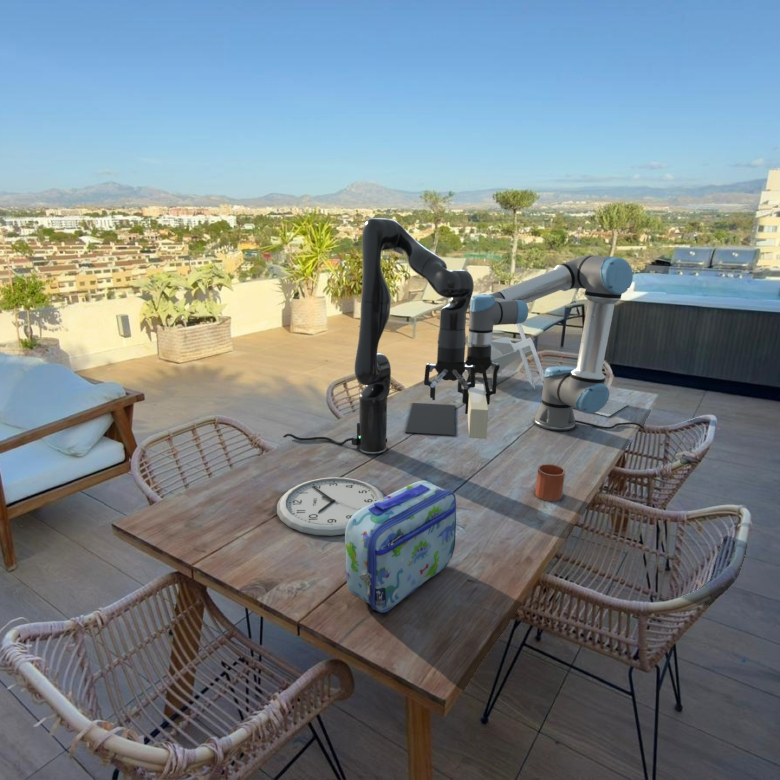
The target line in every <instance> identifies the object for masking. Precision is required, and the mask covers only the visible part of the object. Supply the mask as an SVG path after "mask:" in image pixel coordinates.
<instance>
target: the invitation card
mask: <svg viewBox="0 0 780 780" xmlns="http://www.w3.org/2000/svg"><path fill="white" fill-rule="evenodd" d="M627 406H628V404H627V403H623V402H618V401H614V400H609V399H608V401H607V403H606V404H605V406H604V407H603V408H601V409H600V410H599V411H598V412H596V413H594V415H595V414H596V415H600V416H603V417H608V418H609V417H611V416H612V415H614V414H616V413H617V412H619V411H620V410H622V409H624V408H625V407H627Z"/></svg>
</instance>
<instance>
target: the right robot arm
mask: <svg viewBox="0 0 780 780" xmlns="http://www.w3.org/2000/svg"><path fill="white" fill-rule="evenodd" d="M633 277H634V274H633V269H632V266H631V265H630V263H629V261H627V260H626V259H624V258H621V257H617V256H606V255H605V256H604V255H595V254H594V255H593V254H588V255H583V256H579V257H576V258H573V259H571V260H568V261H564V262H563V263H560V264H557V265H556V266H555V267H554V269H552V270H549V271H547V272H544V273H541V274H539V275H537V276H534V277H531V278H529V279H527V280H524V281H521V282H518V283H516V284H514V285H511V286H508V287H505V288H503V289H500V290H497V291H495V292H492V293H489V294H487V293H483V294H481V293H480V294H474V295H472V297H471V300H470V303H469V308H468V310H469V317H468V334H467V336H468V337H467V343H468V344H467V351H466V358H465V359H464V365H467V366H471V365H474V366H475V373H482V374H483V375H482V378H483V384H484V389H485V394H486V400H487V405H488V406H489V405H490V402H491V396H492V395H496V394H497V383H498V374H497V372H498V370H499V367H500V366H499V364H498V363H493V362H492V360H491V345H490V344H492V340H493V333H494V332H493V331H494V326H501V325H502V326H504V325H517V324H519V323H521V324H523V323H525V322H526V321H527V319H528V318H529V306H528V304H529V303H531V302H533V301H536V300H538V299H541V298H544V297H547V296H549V295H552V294H555V293H557V292H560V291H562V292H567V291H570V290H573V289H583V290H585V291H584V297H585V298H586V299H587V306H586V311H585V317H584V322H583V327H582V328H583V329H582V335H581V340H580V345H579V351H578V357H577V362H576V367H574V366H566V365H565V366H564V365H562V366H561V365H559V366H558V365H557V366H549V367H547V368H546V369H545V370H544V380H543V382H542V392H541V402H540V405H539V407H538V410H537V411H536V413H535V417H534V424H535V425H536V426H537V427H539V428H542V429H544V430H549V431H556V432H567V431H572V430H574V429H575V428H576V423H577V424H582V425H585V426H591V427H595V428H599V429H606V430H610V429H614V428H615V427H617V426H627V425H633V426H638V427H639V428H640V429H645V427H644V426H643V425H641V424H640V423H637V422H633V421H632V422H618V423H614V424H613V425H611V426H604V425H598V424H594V423H590V422H586V421H581V420H578V419H576V418H575V417H576V416H575V413H574V409H575V410H577V411H579V412H581V413H585V414H588V415H590V414H591V415H593V414H595V413H596V412H598V411H599V410H600V409H601V408H603V407H604V406H605V404H606V403H607V401H608V400H609V398H610V390H609V387H608V386H607V385H606V384H605V380H606V375H605V374H604V373H603V367H604V361H605V356H606V352H607V347H608V341H609V335H610V331H611V325H612V321H613V315H614V310H615V305H616V303H618V302H619V301H620V300H621V298H622V294H624V293H627V292H628V289H630V287H631V285H632V283H633V280H634V279H633ZM490 366H492V369H493V374H492V378H491V379H492V380H491V389H490V385H489V380H488V374H486V370H487V369H488V368H489V367H490ZM463 375H464V373H463V374H462V376H463ZM465 380H466V382H467V383H469V382H471V374H468V376H466V379H465ZM457 393H460V394H462V395H463V386H462V384H461V383H460V382H459V381H458V380H457ZM468 400H469V393H468V399H467V400H465V402H463V401H462V400H461V401H462V404H463V405H465V407H464V408H465V409H464V414H465V415H468Z"/></svg>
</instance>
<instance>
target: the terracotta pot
mask: <svg viewBox="0 0 780 780" xmlns="http://www.w3.org/2000/svg"><path fill="white" fill-rule="evenodd" d="M565 479H566V470H565V469H564V468H563V467H562V466H560V465H556V464H553V463H552V464H551V463H544V464H543V463H542V464H540V465H538V467H537V472H536V481H535V487H534V489H535V490H534V494H535V496H536V497H537V498H539V499H541V500H543V501H547V502H558V501H560V500H561V499H562V498H563V495H564V487H565V486H564V485H565Z"/></svg>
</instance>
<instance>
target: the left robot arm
mask: <svg viewBox="0 0 780 780" xmlns="http://www.w3.org/2000/svg"><path fill="white" fill-rule="evenodd" d="M385 251H386V252H389V251H393V252H395V253H397V254H400V255H402V256H403V257H404V258H405V259H406V262H407V264H408V266H409V268H410V269H411V270H412V271H413V272H415V274H417V275H419V276H420V277H421V278H422V279H424V280H425V281H427V283H428V284H429V285H430V286H431V288H432V289H433V291H434V292H435V293H436V294H438V295H439V296H440V297H443V298H445V299H450V300H449V301H448V304H446V305H445V306H443V307H442V308H441V309H440V313H439V327H438V328H439V329H438V335H437V353H436V355H437V356H436V363H435V364H433V363H430V362H427V363H425V368H424V369H425V370H424V380H423V385H425V386H427V387H429V396H430V399H432V401H435V400H436V386H437V384H438V383H439V382H440V381H441V380H443V381H451V382H452V381H453V382H456V381H457V382H458V381H459V382H460V383H461V384H462V389H463V394H462V398H461V399H462V400H461V401H463V402H465V400H467V399H468V389H469V388H473V387H475V384H476V376H475V366H474V365H471V366H465V365H464V361H465V354H466V353H465V352H466V342H467V339H466V337H467V336H466V325H467V324H466V322H467V312H468V310H469V308H470V302H471V298H472V296H473V294H474V287H475V286H474V278H473V276H472V274H471V273H470V272H469V271H467V270H464V269H457V270H456V269H455V270H454V269H453V270H449V269H448V266H447V263H446V262H445V260H443V258H441V257H440V256H438V255H436V254H435V253H434V252H432V251H431V250H429V249H427V248H426V247H425V246H423V245H422V244H421V243H420V242H418V241H417V240H416V239H415V238H414V237H413V236H412V235H411V234H409V232H408V231H407V230H406V229H405V228H404V226H402V225H401V224H400V223H399V222H397V220H394V219H391V218H380V217H379V218H378V217H377V218H374V217H371V218H368V219H367V220H366V221H365V222H364V224H363V227H362V232H361V254H362V255H361V256H362V278H361V279H362V282H361V284H362V285H361V296H360V314H359V315H360V316H359V317H360V319H359V331H358V341H357V349H356V354H355V359H354V375H355V378H356V380H357V382H358V383H360V384H361V385H363V386H364V388H363V389H362V390H361V392H360V393H359V397H358V398H359V399H358V400H359V401H358V402H359V404H358V406H359V407H358V411H359V413H358V415H359V420H358V422H357V423H356V434H355V435H354V436H352V437H348V438H345V439H344V440H343V441H340V442H338V441H337V440H334V439H332V438H330V437H327V436H313V437H299V436H296V435H294V434H293V433H286V434H284V435H283V436H282V438H287V437H291V438H292V439H294V440H297V441H314V440H315V441H316V440H325V441H328V442H330V443H332V444H335V445H338V446H343V445H345V444H346V443H347V442H350V441H351V445H352V446H356V449H357V450H358V451H359V452H361V453H363V454H365V455H371V456H372V455H373V456H374V455H380V454H383V453H385V452H386V451H387V443H388V437H387V434H388V433H387V432H388V431H387V430H388V429H387V425H388V422H387V421H388V397H389V394H390V391H391V379H392V378H391V375H392V369H391V362H390V360H389V359H388V357H387V356H386V354H383V353H381V352H378V349H379V344H380V340H381V338H382V335H383V333H384V331H385V329H386V326H387V324H388V321H389V319H390V315H391V314H390V313H391V303H392V295H391V291H390V288H389V285H388V283H387V281H386V279H385V276H384V273H383V271H382V252H385ZM434 369H435V372H437V374H436V376H434V378H433V379H432V380H430V374H431V373H432V372H433V370H434ZM465 370H467V371H468V373H469V374H471V382H469V383H467V382H466V380H467V379H465V377H464V376H463V375H464V374H465V373H464V371H465ZM462 374H463V375H462ZM463 402H462V403H463Z"/></svg>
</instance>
